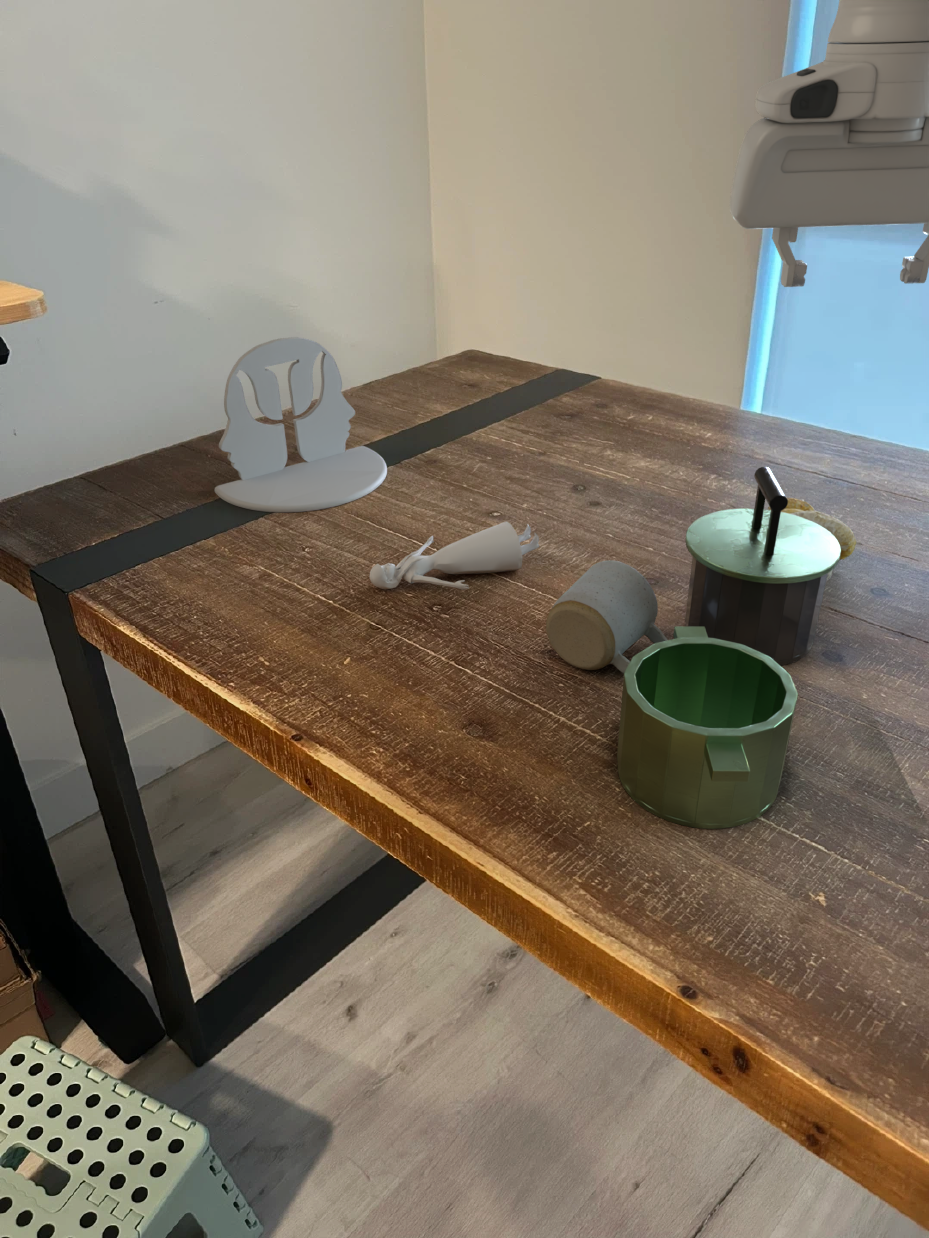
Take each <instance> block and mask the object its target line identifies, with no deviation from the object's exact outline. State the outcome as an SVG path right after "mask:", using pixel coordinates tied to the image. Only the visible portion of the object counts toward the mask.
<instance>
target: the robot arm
mask: <svg viewBox="0 0 929 1238" xmlns="http://www.w3.org/2000/svg"><path fill="white" fill-rule="evenodd" d="M824 57H825V58H824V59H823V61H821V62H819V63H816V64H813V65H810V66H808V67H806V68H803V69H800V70H798V71H795V72H792V73H790V74H786V75H784V76H781V77H779V78H776V79H773V80H771V81H768V82H766V83H763V84H762V85H761V86H759V88H758V89H757V92H756V95H755V101H754V102H755V104H754V105H755V106H754V107H755V111H756V113H757V114H758V115H759V116H761V117H762V118H761V119H759V120H756V121H755V122H754V123H753V124H752V125H751V126H750V127H749V128H748V129H747V131H746V133H745V134H744V136H743V139H742V141H741V144H740V147H739V150H738V154H737V158H736V163H735V166H734V171H733V177H732V183H731V187H730V188H731V189H730V196H729V206H728V207H729V208H728V209H729V213H730V215H731V217H732V218H733V220H734V221H735V222H736V223H737V224H738V225H739V226H740V227H741V228H743V229H744V230H745V229H746V230H763V229H765V230H766V229H772V234H771V239H772V242H773V244H774V246H775V248H776V250H777V253H778V255H779V258H780V259H781V261H782V267H781V275H780V282H781V283H780V284H781V285H782V286H783V287H784V288H800V287H804V286H805V284H806V278H805V276H806V274H807V270H808V264H807V263H806V262H804V261H803V260H802V259H796V258H795V256H794V253H793V251H792V248H791V245H790V243H796V242H797V238H798V233H799V228H826V227H827V228H828V227H830V228H831V227H857V226H859V227H860V226H888V225H889V226H892V225H894V226H895V225H923V227H922V233H923V234H925V235H927V236H926V238H925V239H924V241H923V242H922V243H921V245H920V247H919V248H918V249H917V251H916V252H915V253H914V255H913V256H903V257H902V262H901V267H902V269H901V270H900V272H899V281H900V282H902V283H903V284H905V285H906V284H908V285H909V284H911V285H913V284H917V285H918V284H925V283H926V282H927V278H928V273H929V0H838V6H837V11H836V15H835V17H834V21H833V23H832V26H831V28H830V31H829V34H828V38H827V44H826V51H825V56H824Z"/></svg>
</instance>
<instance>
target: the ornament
mask: <svg viewBox="0 0 929 1238" xmlns="http://www.w3.org/2000/svg"><path fill="white" fill-rule="evenodd" d="M321 353H322V354H321ZM320 354H321V357H320V378H321V379H320V380H321V381H320V382H321V383H320V392H319V397H318V400H317V402H316V403H315V405H314V406H313V407H312V408H311V409H310V410H309V411H308V412H306V413H305V411H307V410H308V408H310V406H311V404H312V401H313V399H314V379H313V378H314V377H313V375H314V366H315V362H316V360H317V357H318V356H319V355H320ZM290 362H292V363H290ZM286 363H290V365H289V367H288V370H287V384H288V391H289V399H290V406H291V411H292V412H291V413H292V415H293V416H294V417H296V416H300V415H302V414H304V413H305V414H304V415H302V416H300V417H297V418H293V419H292V422H293V428H294V436H295V443H296V449H297V453H298V455H299V456H300V457H301V459H302V460H304V461H302V462H298V463H295V464H291V465H288V466H286V464H287V462H288V447H287V440H286V432H285V424H284V423H283V422H279V423H273V424H268V423H263V422H261V421H258V420H256V419H255V418H254V416H252V414H251V412H250V410H249V407H248V404H247V402H246V397H245V392H244V387H243V384H242V381H241V379H240V377H239V376H237V375H238V374H239V371H241V372H243V373H244V374H245V375H246V376H247V377H248V379H249V381H250V383H251V386H252V390H253V395H254V400H255V404H256V407H257V408H258V411H260V413H261V414H262V415H263V416H265V417H266V418H268V419H270V420H273V421H281V420H284V417H283V409H282V408H283V407H282V400H281V393H280V384H279V380H278V376H277V375H276V374H275V372H274V371H273V370H271V369H270V368H267V367H272V366H273V367H274V366H276V365H281V364H286ZM342 389H343V380H342V375H341V372H340V368H339V367H338V364H337V362H336V360H335V358H334V357H333V355H332V354H331V353H330V351H328V350H327V349H326V348H325V347H324V346H323V345H322V344H320V343H319V342H316V341H314V340H312V339H309V338H305V337H299V336H290V337H280V338H275V339H272V340H269V341H265V342H262V343H260V344H257V345H255V346H254V347H252V348H250V349H248V350H247V351H246V352H244V353H243V354H242V355H241V356H240V357H239V358H238V359H237V360H236V361H235V363H234V365H233V367H232V369H231V371H230V372H229V374H228V376H227V379H226V383H225V387H224V396H223V409H224V413H225V415H226V416H227V421H226V425H225V428H224V432H223V433H222V434H223V435H222V436H221V439H220V441H219V443H218V449H219V450H221V451H222V452H225V453H227V460H228V461H229V462H230V466H231V467H232V468H233V469H235V470H236V471H237V474H238V477H239V479H237V480H234V481H230V482H226V483H222V484H219V485H216V486H215V487H214V493H215V495H217V496H218V497H219V498H220V499H222V500H223V501H224V502H227V503H229V504H230V505H233V506H236V507H239V508H241V509H242V508H243V509H247V510H251V511H258V512H267V513H301V512H312V511H318V510H324V509H329V508H333V507H338V506H341V505H344V504H348V503H350V502H353V501H357V500H358V499H361V498H362V497H366V496H367V495H369V494H370V493H371V492H373V491H375V490H376V489H377V488H379V486H380V485H382V484H383V482H384V481H385V479H386V477H387V475H388V465H387V463H386V461H385V460H384V458H383V457H382V456H381V455H380V454H379V453H378V452H376V451H375V450H373V449H371V448H370V447H367V446H364V445H360V446H356V447H353V448H349V449H346V446H347V445H346V442H347V440H348V438H349V437H350V432H349V431H350V430H351V428H352V424H351V423H350V419H352V418H353V417H354V416H355V415H356V410H355V409H354V408H353V407H352V405H351V404H350V403H349V402H348V401H347V399H346V398H345V396H344V394H343V393H342Z"/></svg>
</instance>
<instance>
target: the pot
mask: <svg viewBox="0 0 929 1238" xmlns="http://www.w3.org/2000/svg"><path fill="white" fill-rule="evenodd" d="M672 635H673V639H667V641H663V642H659V643H655V644H654V643H653V644H651V645H649V646H647V647H645V648H644V649H643V650H640V651H639V652H638V653H636V654H635V655H633V656H632V658H631V660H629V661H630V663H629V665H628V667H627V668H626V670H625V672H624V673H623V679H622V680H623V681H622V692H621V705H620V716H619V727H618V740H617V749H616V750H617V751H616V761H617V774H618V778H619V781H620V783H621V786H622V787H623V789H624V790H625V792H626V794H628V796H629V797H630V798H631V799H632V800H633V801H634V802H635V803H636V804H637V805H639V807H641V808H643V809H644V810H645V811H647V812H649V813H650V814H652V815H654V816H656V817H658V818H660V819H662V820H665V821H667V822H670V823H673V824H675V825H680V826H685V827H688V828H694V829H695V828H696V829H704V830H705V829H707V830H719V829H721V830H723V829H729V828H735V827H738V826H742V825H746V824H748V823H750V822H753V821H754V820H756V819H758V818H760V817H761V816H763V815H764V814H765V813H767V812H768V810H769V809H770V808H771V807H772V806H773V804H774V802H775V801H776V798H777V797H778V793H779V788H780V785H781V781H782V776H783V772H784V767H785V762H786V756H787V751H788V747H789V741H790V737H791V732H792V726H793V722H794V717H795V712H796V707H797V703H798V698H799V694H798V690H797V688H796V685H795V683H794V681H793V679H792V676H791V674H790V673H789V672H788V671H787V670H786V669H785V668H783V666H780V665H779V664H778V663H776V662H775V661H774V660H773V659H772V658H770V657H769V656H767V655H765V654H762V653H760V652H758V651H756V650H754V649H752V648H749V647H747V646H745V645H742V644H738V643H734V642H729V641H724V640H720V639H715V638H708V636H707V633H706V630H705V627H694V626H685V625H684V626H683V625H682V626H679V625H678V626H676V625H675V626H674V628H673V634H672Z"/></svg>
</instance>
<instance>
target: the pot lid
mask: <svg viewBox="0 0 929 1238" xmlns="http://www.w3.org/2000/svg"><path fill="white" fill-rule="evenodd" d="M753 477H754V480H755V482H756V483H757V487H756V495H755V501H754V508H732V509H731V508H729V509H724V510H719V511H714V512H710V513H707V514H705V515H703V516H700V517H699V518H697V519H695V520H694V521H693V522H692V523H691V524H690V525H689V526H688V528H687V529H686V531H685V539H684V540H685V541H684V542H685V546H686V549H687V550H688V553H689V554H690V555H691V556H692V557H694V558H695V559H696V560H698V561H699V562H700V563H702V564H703V565H705V566H707V567H708V568H710V569H712V570H715V571H717V572H719V573H722V574H725V575H727V576H731V577H734V578H738V579H743V580H747V581H754V582H761V583H778V584H779V583H796V582H803V581H808V580H812V579H816V578H818V577H821V576H823V575H825V574H827V573H829V572H830V571H831V570H832V571H833V570H834V569H835V568H836V567H837V566H838V564H839V562H840V561H841V560H840V555H841V548H840V544H839V542H838V541H837V539H836V538H835V537H834V536H833V535H832V534H831V533H830V532H829V531H828V530H826V529H825V528H823V527H822V526H820V525H818V524H816V523H814V522H812V521H810V520H807V519H805V518H802V517H799V516H796V515H792V514H788V513H784V512H781V511H782V510H784V509H785V508H786V507H787V504H788V500H787V498H788V497H787V495H786V494H785V492H784V491H783V489H782V487H781V486H780V484H779V481H778V480H777V478H776V476H775V474H773V471H772V469H771V468H769V467H767V466H761V467H758V468H757V469H756V471H755V472H754V476H753ZM766 503H767V504H768V507H769V506H770V508H771V510H767V509H765V504H766Z"/></svg>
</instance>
